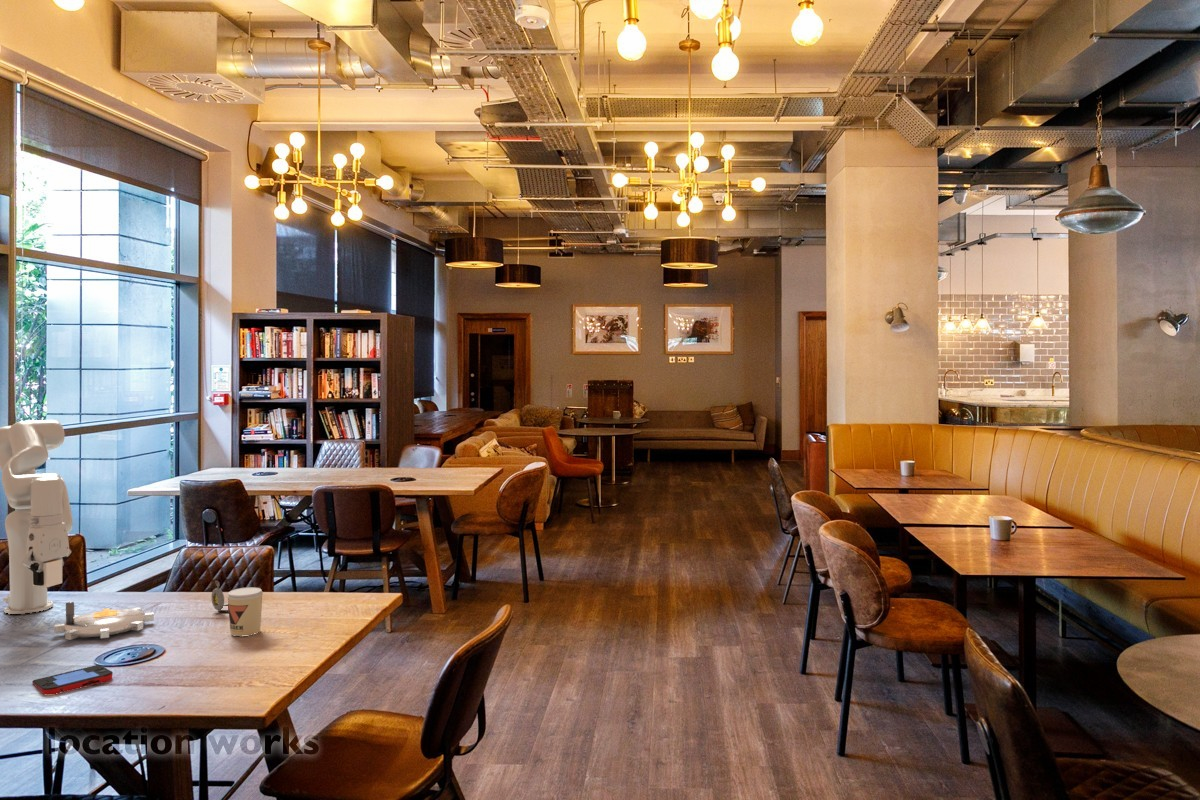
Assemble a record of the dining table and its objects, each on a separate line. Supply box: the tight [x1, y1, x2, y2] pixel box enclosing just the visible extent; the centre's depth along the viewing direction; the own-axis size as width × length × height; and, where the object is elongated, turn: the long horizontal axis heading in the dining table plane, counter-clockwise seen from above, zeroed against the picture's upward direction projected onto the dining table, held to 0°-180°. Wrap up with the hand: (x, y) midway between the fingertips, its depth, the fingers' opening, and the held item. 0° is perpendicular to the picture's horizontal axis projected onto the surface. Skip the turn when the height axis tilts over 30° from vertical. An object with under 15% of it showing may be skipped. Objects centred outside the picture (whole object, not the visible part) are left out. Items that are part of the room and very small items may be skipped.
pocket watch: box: [211, 580, 229, 612], centre depth 254 cm, size 8×8×10 cm
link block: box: [33, 559, 63, 589], centre depth 235 cm, size 5×5×7 cm
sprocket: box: [53, 601, 155, 641], centre depth 235 cm, size 24×24×8 cm
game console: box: [32, 664, 113, 695], centre depth 195 cm, size 14×13×2 cm
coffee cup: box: [226, 586, 264, 636], centre depth 232 cm, size 9×9×12 cm
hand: (47, 581), depth 235 cm, fingers closed on link block, 4 cm apart
